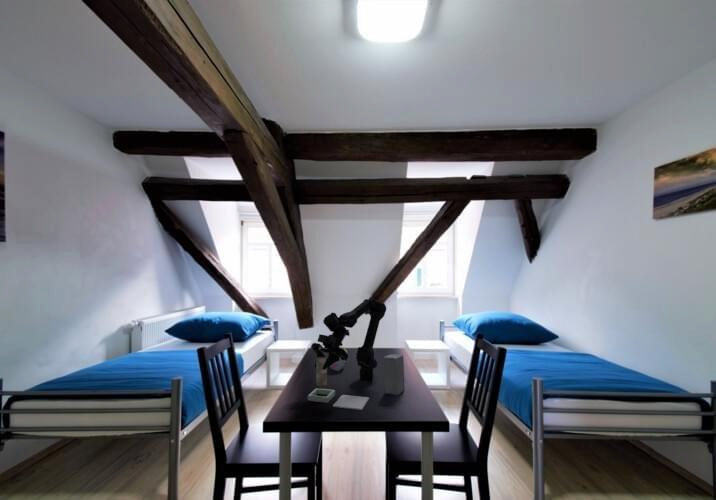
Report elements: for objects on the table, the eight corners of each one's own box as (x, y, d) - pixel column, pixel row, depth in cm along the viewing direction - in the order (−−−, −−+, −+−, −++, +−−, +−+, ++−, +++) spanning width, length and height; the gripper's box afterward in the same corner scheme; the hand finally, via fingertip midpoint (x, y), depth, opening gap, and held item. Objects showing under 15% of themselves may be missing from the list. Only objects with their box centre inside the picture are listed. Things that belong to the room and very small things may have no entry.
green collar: (335, 394, 147) (335, 390, 147) (327, 402, 138) (327, 397, 139) (316, 392, 150) (316, 388, 150) (307, 400, 141) (307, 395, 141)
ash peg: (328, 383, 146) (328, 357, 147) (324, 386, 142) (324, 360, 142) (318, 382, 147) (318, 356, 148) (314, 385, 143) (314, 359, 143)
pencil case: (333, 361, 201) (333, 345, 202) (348, 361, 201) (348, 345, 201) (328, 372, 180) (328, 354, 181) (344, 372, 180) (344, 354, 180)
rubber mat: (369, 398, 142) (369, 397, 142) (361, 410, 131) (361, 408, 131) (342, 395, 146) (342, 394, 146) (332, 406, 134) (332, 405, 134)
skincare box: (397, 396, 145) (397, 358, 146) (382, 393, 149) (382, 356, 150) (405, 390, 152) (405, 354, 153) (391, 387, 156) (391, 352, 157)
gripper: (313, 325, 155) (294, 354, 146) (343, 329, 143) (325, 361, 134) (325, 339, 160) (308, 368, 151) (355, 344, 148) (338, 376, 139)
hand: (319, 368), depth 144 cm, fingers closed on ash peg, 4 cm apart
